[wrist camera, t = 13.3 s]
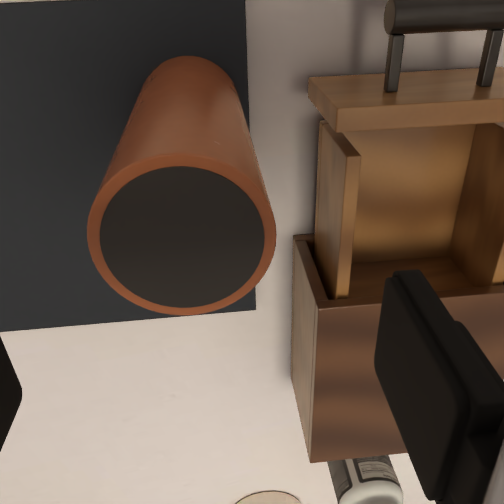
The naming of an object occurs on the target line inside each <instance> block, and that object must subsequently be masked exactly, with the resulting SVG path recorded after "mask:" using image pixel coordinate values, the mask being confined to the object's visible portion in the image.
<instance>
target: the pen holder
mask: <svg viewBox="0 0 504 504" xmlns="http://www.w3.org/2000/svg"><path fill="white" fill-rule="evenodd" d="M87 241H88V247H89V251H90V254H91V257H92V260H93V262H94V264H95V266H96V268H97V270H98V271H99V273H100V274H101V276H102V277H103V279H104V280H105V281H106V282H107V283H108V284H109V285H110V286H111V287H112V288H113V289H114V290H115V291H116V292H117V293H119V294H120V295H121V296H123V297H124V298H126V299H127V300H129V301H131V302H133V303H134V304H136V305H138V306H141V307H143V308H146V309H148V310H152V311H155V312H159V313H164V314H170V315H196V314H203V313H207V312H211V311H215V310H218V309H221V308H223V307H226V306H228V305H230V304H232V303H234V302H236V301H237V300H239V299H240V298H242V297H243V296H245V295H246V294H247V293H248V292H250V291H251V290H252V289H253V288H254V287H255V286H256V285H257V284H258V283H259V281H260V280H261V278H262V277H263V276H264V274H265V273H266V271H267V269H268V267H269V265H270V263H271V260H272V258H273V255H274V250H275V246H276V224H275V220H274V216H273V212H272V208H271V205H270V202H269V198H268V195H267V191H266V188H265V185H264V181H263V178H262V174H261V171H260V167H259V164H258V161H257V157H256V154H255V150H254V147H253V144H252V140H251V137H250V133H249V130H248V127H247V123H246V120H245V116H244V113H243V110H242V106H241V103H240V99H239V96H238V93H237V90H236V87H235V85H234V83H233V82H232V80H231V79H230V77H229V76H228V74H227V73H226V72H225V71H224V70H223V69H222V68H220V67H219V66H218V65H216V64H215V63H213V62H211V61H209V60H207V59H204V58H201V57H196V56H178V57H175V58H171V59H169V60H166V61H164V62H163V63H161V64H160V65H158V66H157V67H156V68H155V69H154V70H153V71H152V72H151V73H150V74H149V76H148V77H147V79H146V80H145V83H144V85H143V87H142V89H141V91H140V94H139V96H138V99H137V101H136V103H135V106H134V108H133V110H132V113H131V115H130V117H129V120H128V122H127V124H126V127H125V129H124V131H123V134H122V136H121V138H120V141H119V143H118V145H117V148H116V150H115V152H114V155H113V157H112V159H111V162H110V164H109V166H108V169H107V171H106V173H105V176H104V178H103V180H102V183H101V185H100V187H99V190H98V192H97V194H96V197H95V199H94V201H93V204H92V206H91V210H90V213H89V216H88V223H87Z"/></svg>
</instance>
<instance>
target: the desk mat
mask: <svg viewBox="0 0 504 504" xmlns="http://www.w3.org/2000/svg"><path fill="white" fill-rule="evenodd" d="M178 56H196V57H201V58H204V59H207V60H209V61H211V62H213V63H215V64H216V65H218V66H219V67H220V68H222V69H223V70H224V71H225V72H226V73H227V74H228V76H229V77H230V79H231V80H232V82H233V83H234V85H235V87H236V90H237V93H238V96H239V99H240V103H241V106H242V110H243V113H244V116H245V120H246V123H247V127H248V130H249V101H248V73H247V45H246V16H245V0H65V1H41V2H18V3H0V332H6V331H18V330H29V329H41V328H52V327H64V326H76V325H87V324H99V323H110V322H122V321H133V320H145V319H156V318H168V317H179V316H191V315H170V314H164V313H159V312H155V311H152V310H148V309H146V308H143V307H141V306H138V305H136V304H134V303H133V302H131V301H129V300H127V299H126V298H124V297H123V296H121V295H120V294H119V293H117V292H116V291H115V290H114V289H113V288H112V287H111V286H110V285H109V284H108V283H107V282H106V281H105V280H104V279H103V277H102V276H101V274H100V273H99V271H98V270H97V268H96V266H95V264H94V262H93V260H92V257H91V254H90V251H89V247H88V241H87V223H88V216H89V213H90V210H91V206H92V204H93V201H94V199H95V197H96V194H97V192H98V190H99V187H100V185H101V183H102V180H103V178H104V176H105V173H106V171H107V169H108V166H109V164H110V162H111V159H112V157H113V155H114V152H115V150H116V148H117V145H118V143H119V141H120V138H121V136H122V134H123V131H124V129H125V127H126V124H127V122H128V120H129V117H130V115H131V113H132V110H133V108H134V106H135V103H136V101H137V99H138V96H139V94H140V91H141V89H142V87H143V85H144V83H145V80H146V79H147V77H148V76H149V74H150V73H151V72H152V71H153V70H154V69H155V68H156V67H157V66H158V65H160V64H161V63H163V62H164V61H166V60H169V59H171V58H175V57H178ZM249 133H250V130H249ZM249 310H256V300H255V287H254V288H253V289H252V290H251V291H250V292H248V293H247V294H246V295H245V296H243V297H242V298H240V299H239V300H237V301H236V302H234V303H232V304H230V305H228V306H226V307H223V308H221V309H218V310H215V311H211V312H207V313H203V314H214V313H226V312H237V311H249ZM203 314H196V315H203Z"/></svg>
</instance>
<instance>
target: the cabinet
mask: <svg viewBox="0 0 504 504" xmlns="http://www.w3.org/2000/svg"><path fill="white" fill-rule="evenodd" d="M314 237H315V234H306V235H294V236H293V275H292V337H291V380H292V384H293V389H294V393H295V398H296V402H297V407H298V411H299V416H300V420H301V425H302V429H303V434H304V438H305V443H306V447H307V452H308V456H309V461H310V463H317V462H326V461H335V460H345V459H354V458H363V457H372V456H381V455H391V454H400V453H408V452H407V449H406V447H405V444H404V442H403V439H402V437H401V434H400V432H399V429H398V427H397V424H396V422H395V419H394V417H393V414H392V412H391V409H390V407H389V404H388V402H387V399H386V397H385V395H384V392H383V390H382V387H381V385H380V382H379V380H378V377H377V375H376V372H375V368H374V354H375V347H376V340H377V333H378V326H379V319H380V312H381V305H382V299H383V295H382V296H370V297H358V298H347V299H335V300H328V298H327V295H326V292H325V290H324V287H323V284H322V282H321V279H320V277H319V274H318V271H317V269H316V266H315V263H314V261H313V260H314ZM435 292H436V294H437V295H438V297H439V298H440V300H441V301H442V303H443V304H444V306H445V307H446V309H447V310H448V312H449V313H450V315H451V316H452V318H453V319H454V321H459V322H461V323H462V324H463V325H464V326H465V327H466V328H467V330H468V331H469V332H470V334H471V335H472V337H473V338H474V340H475V341H476V343H477V344H478V345H479V347H480V348H481V350H482V351H483V353H484V354H485V355H486V357H487V358H488V360H489V361H490V363H491V364H492V366H493V367H494V368H495V370H496V371H497V373H498V374H499V376H500V377H501V379H502V380H503V379H504V283H503V285H498V286H486V287H474V288H463V289H451V290H440V291H435Z"/></svg>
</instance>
